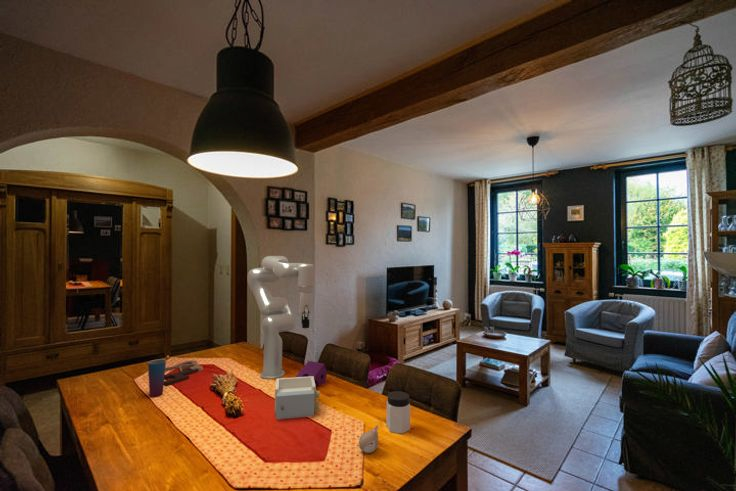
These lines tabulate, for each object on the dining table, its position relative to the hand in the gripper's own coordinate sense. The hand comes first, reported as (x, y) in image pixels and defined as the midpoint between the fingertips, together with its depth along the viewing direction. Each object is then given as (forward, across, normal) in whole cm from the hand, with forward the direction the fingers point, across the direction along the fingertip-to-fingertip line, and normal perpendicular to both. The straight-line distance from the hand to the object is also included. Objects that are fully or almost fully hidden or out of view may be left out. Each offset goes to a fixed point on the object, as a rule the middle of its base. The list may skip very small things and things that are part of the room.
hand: (305, 325), depth 160 cm
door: (+30, +25, -4) cm, 39 cm away
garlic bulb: (+31, +54, +19) cm, 65 cm away
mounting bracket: (+31, -5, +2) cm, 31 cm away
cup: (+31, -7, -65) cm, 72 cm away
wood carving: (+31, -36, -63) cm, 79 cm away
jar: (+31, +42, +33) cm, 62 cm away
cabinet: (+30, +17, -4) cm, 35 cm away
